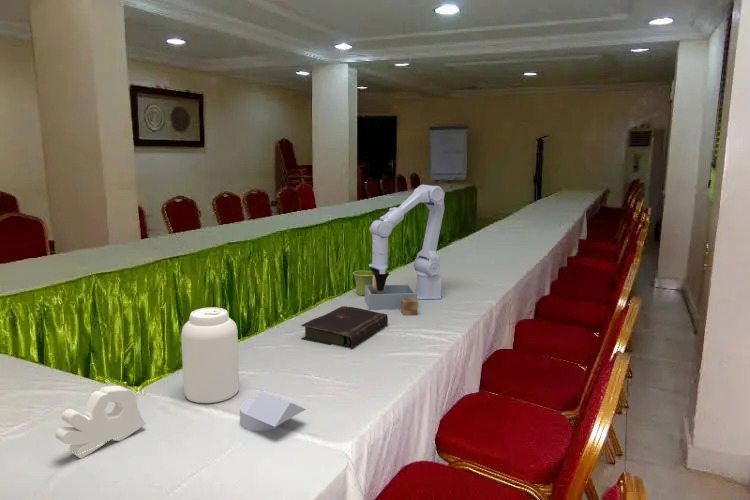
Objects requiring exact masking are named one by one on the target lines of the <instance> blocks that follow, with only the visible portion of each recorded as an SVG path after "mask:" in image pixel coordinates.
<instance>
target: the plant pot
mask: <svg viewBox="0 0 750 500" xmlns="http://www.w3.org/2000/svg"><path fill="white" fill-rule="evenodd" d="M352 274H353V276H354V280H355V282H354V283H355V290H356V295H359V296H365V285H372V282H373V273H372V270H356V271H353V273H352Z"/></svg>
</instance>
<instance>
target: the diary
mask: <svg viewBox="0 0 750 500" xmlns="http://www.w3.org/2000/svg"><path fill="white" fill-rule="evenodd" d="M388 317H389V316H388V314H387V313H383V312H382V313H381V312H377V311H373V310H369V309H365V308H359V307H354V306H345V305H343V306H340V307H338V308H335V309H333V310H332V311H329V312H328V313H326V314H324V315H321V316H317V317H315V318H313V319H311V320H309V321H307V322H304V323H303V324H301V325H300V327H303V328H304V329H305V330H304V336H303V337H301V338H300V340H302V341H308V342H312V343H317V344H323V345H327V346H331V345H334V346H339V347H344V346H345V347H344V349H345V348H348V347H350V348H349V350H352V349H353V348H355V347H357V346H358V345H360V343H362V342H364V341H365V340H367V339H369V338H370V337H372V336H373V335H375V334H376V333H378V332H379V331H381V330H382V329H384V328H385V327H387V326H388V323H389V319H388ZM350 345H351V346H350Z"/></svg>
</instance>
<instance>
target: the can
mask: <svg viewBox="0 0 750 500" xmlns="http://www.w3.org/2000/svg"><path fill="white" fill-rule="evenodd" d="M238 329H239V328H238V326H237V323H236V322H235V321H234V320H233V319H231V317H229V311H228V310H226V308H221V307H215V306H213V307H211V306H210V307H202V308H197V309H195V310H193V311H191V312H190V315H189V318H188V321H186V323H184V324H183V326H182V329H181V333H180V339H181V342H180V343H181V358H182V363H181V364H182V379H183V394H184V397H186V399H187V400H189V401H191V402H193V403H197V404H212V403H213V404H215V403H219V402H223V401H227V400H229V399H231V398H233V397H234V396H236V394H237V393H238V392H239V389H240V373H239V371H240V369H239V368H240V367H239V366H240V365H239V363H240V362H239V337H238V336H239V335H238V334H239V333H238Z"/></svg>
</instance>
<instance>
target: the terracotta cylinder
mask: <svg viewBox="0 0 750 500" xmlns="http://www.w3.org/2000/svg"><path fill="white" fill-rule="evenodd" d="M386 285H387V280H386V281H385V286H384V290H383V291H378V290H377V285H376V279H375V276H374V274H373V282H372V294H386Z"/></svg>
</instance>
